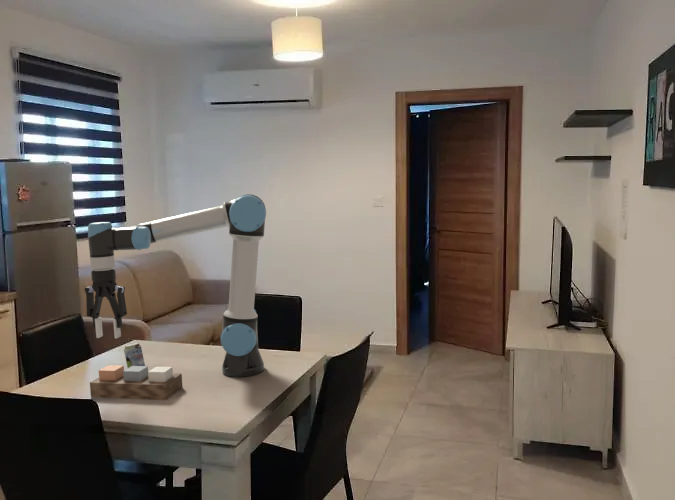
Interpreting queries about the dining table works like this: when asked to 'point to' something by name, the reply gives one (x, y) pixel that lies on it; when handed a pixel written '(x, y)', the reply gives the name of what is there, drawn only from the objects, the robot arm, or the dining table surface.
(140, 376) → the slate key
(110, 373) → the terracotta key
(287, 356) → the dining table surface
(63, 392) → the dining table surface
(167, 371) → the offwhite key
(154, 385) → the console
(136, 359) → the beverage can
